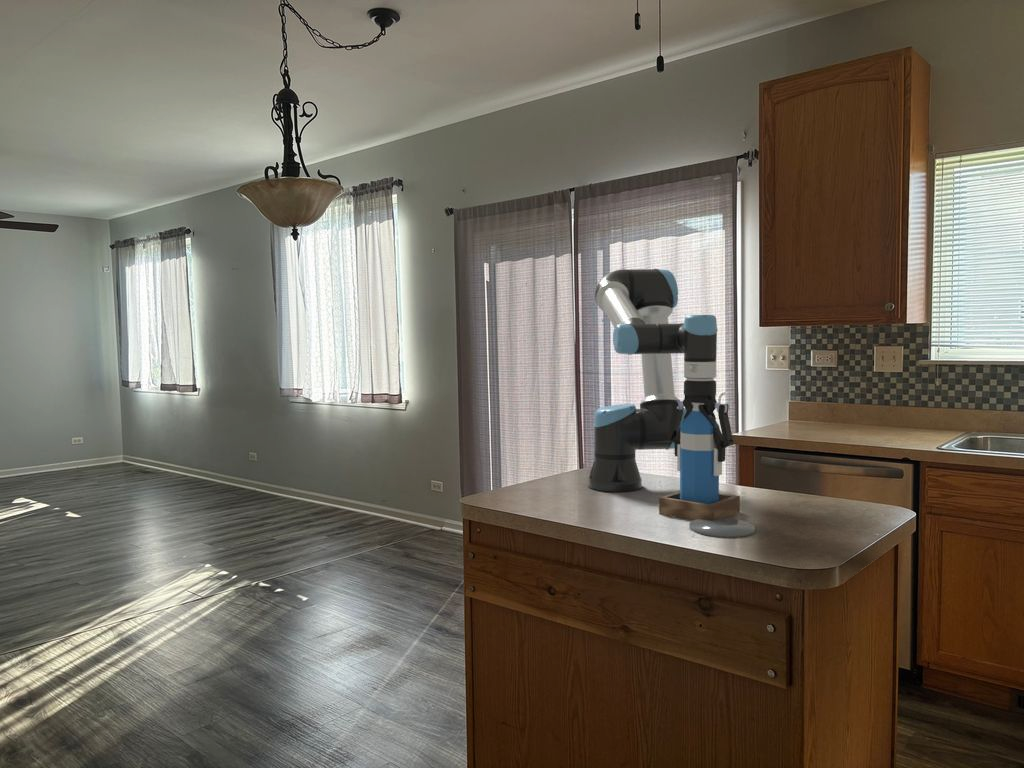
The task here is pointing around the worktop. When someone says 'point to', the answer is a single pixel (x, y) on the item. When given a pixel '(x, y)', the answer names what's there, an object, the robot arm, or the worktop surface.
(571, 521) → the worktop surface
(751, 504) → the worktop surface
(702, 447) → the water bottle
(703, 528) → the coaster
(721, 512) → the square wooden frame
